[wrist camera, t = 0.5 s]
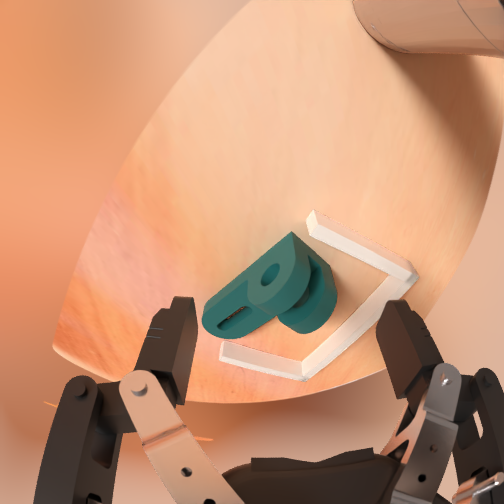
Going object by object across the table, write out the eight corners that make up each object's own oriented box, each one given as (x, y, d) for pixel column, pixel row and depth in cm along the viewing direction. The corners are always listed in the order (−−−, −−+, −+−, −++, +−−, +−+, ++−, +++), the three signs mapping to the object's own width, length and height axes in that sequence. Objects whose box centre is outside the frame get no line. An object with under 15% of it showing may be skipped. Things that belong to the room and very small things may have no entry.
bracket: (291, 230, 30) (298, 278, 24) (329, 264, 33) (342, 313, 26) (194, 310, 38) (184, 357, 32) (231, 332, 41) (227, 377, 34)
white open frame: (313, 209, 28) (317, 223, 26) (410, 262, 32) (419, 277, 29) (220, 344, 42) (218, 360, 40) (304, 367, 46) (305, 381, 43)
